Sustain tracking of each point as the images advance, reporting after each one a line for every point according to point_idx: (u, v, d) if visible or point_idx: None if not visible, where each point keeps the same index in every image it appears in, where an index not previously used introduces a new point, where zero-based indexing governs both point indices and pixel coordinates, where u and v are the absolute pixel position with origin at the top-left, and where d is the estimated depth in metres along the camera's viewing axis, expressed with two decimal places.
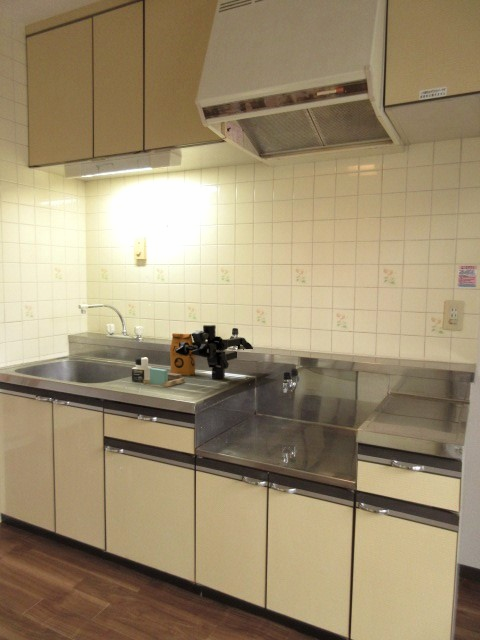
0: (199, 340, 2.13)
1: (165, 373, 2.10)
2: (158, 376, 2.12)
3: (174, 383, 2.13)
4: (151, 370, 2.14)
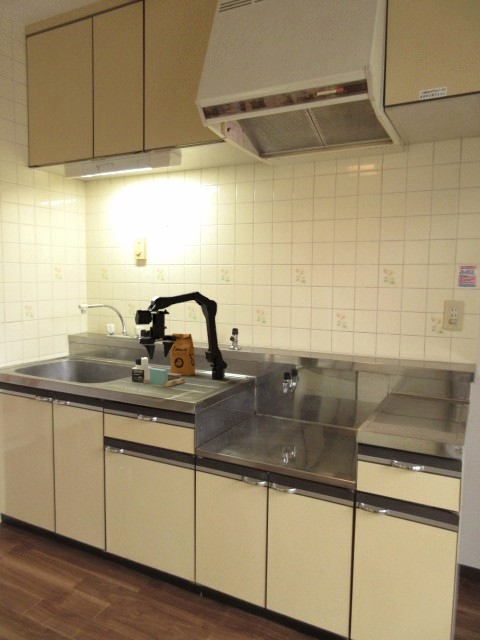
0: None
1: (165, 373, 2.10)
2: (158, 376, 2.12)
3: (174, 383, 2.13)
4: (151, 370, 2.14)
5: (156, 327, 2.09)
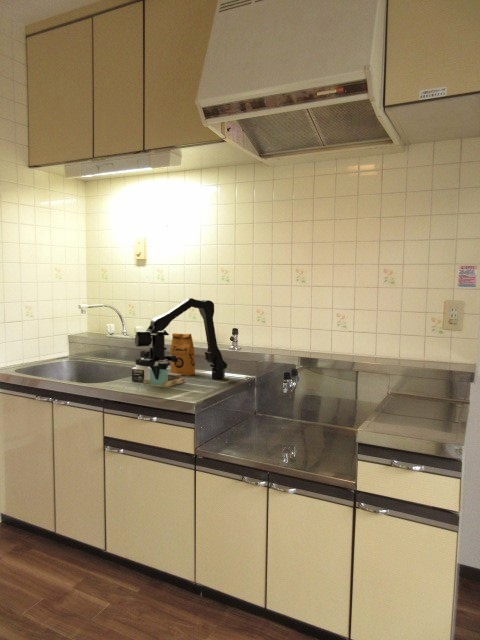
0: None
1: (165, 373, 2.10)
2: None
3: (174, 383, 2.13)
4: (151, 370, 2.14)
5: (156, 348, 2.09)
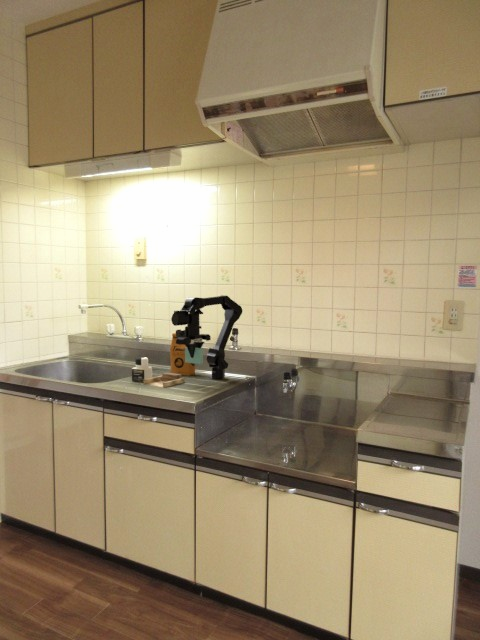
0: None
1: (200, 351, 2.14)
2: None
3: (174, 383, 2.13)
4: (186, 349, 2.18)
5: (191, 327, 2.13)
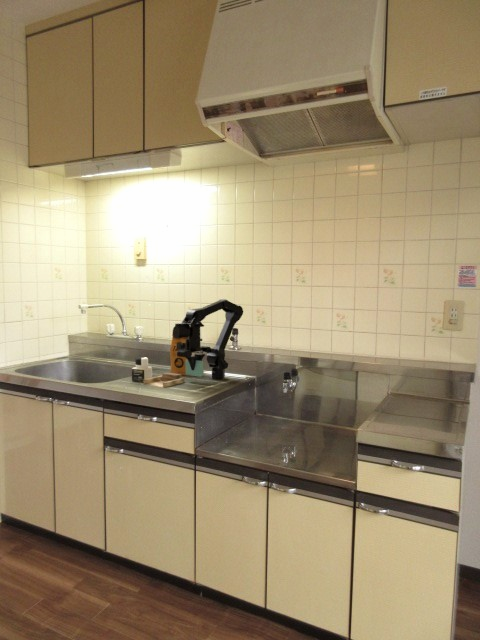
0: None
1: (201, 364, 2.15)
2: None
3: (174, 383, 2.13)
4: (187, 361, 2.19)
5: (192, 340, 2.14)
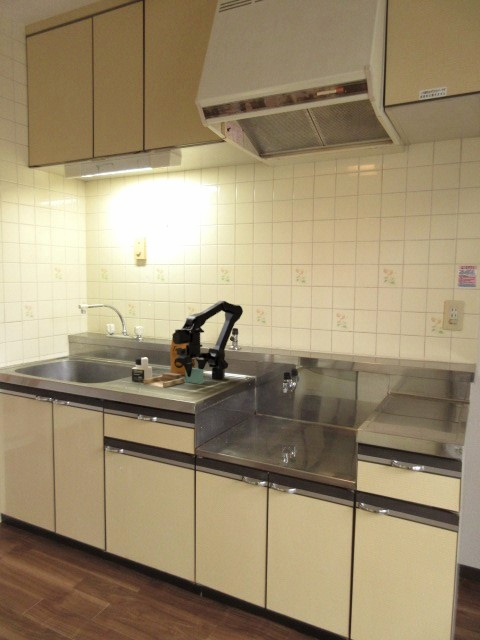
0: None
1: (201, 372, 2.15)
2: (194, 375, 2.17)
3: (174, 383, 2.13)
4: None
5: (192, 345, 2.14)
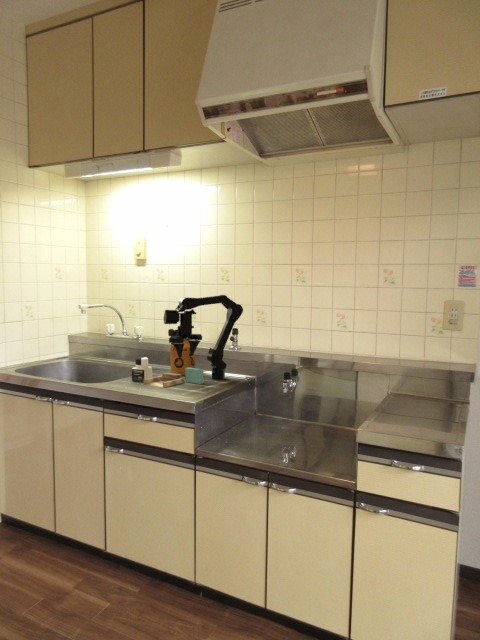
0: (177, 335, 2.21)
1: (201, 372, 2.15)
2: (194, 375, 2.17)
3: (174, 383, 2.13)
4: (187, 369, 2.19)
5: (184, 326, 2.17)
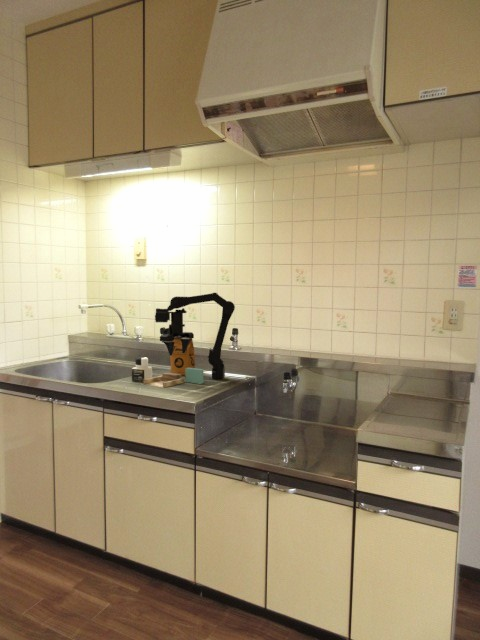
0: None
1: (201, 372, 2.15)
2: (194, 375, 2.17)
3: (174, 383, 2.13)
4: (187, 369, 2.19)
5: (175, 325, 2.22)
